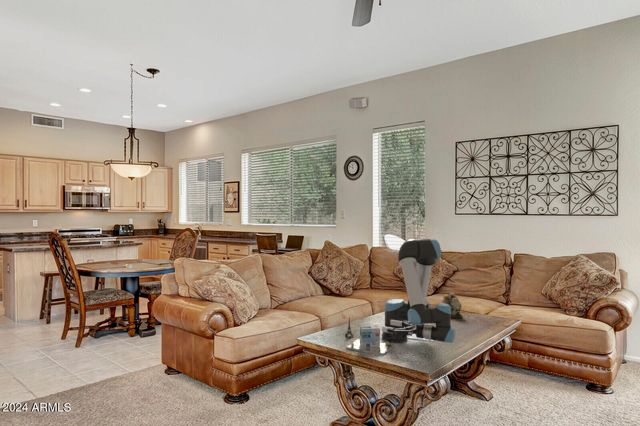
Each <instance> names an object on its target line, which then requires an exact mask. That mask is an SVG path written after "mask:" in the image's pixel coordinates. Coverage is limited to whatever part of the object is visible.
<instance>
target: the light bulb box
mask: <svg viewBox="0 0 640 426" xmlns="http://www.w3.org/2000/svg"><path fill="white" fill-rule="evenodd" d="M359 336H360V337H359V339H360V345H361V347H362V348H371V347H380V343H381V328H380V326H379V325H378V324H376V325H372V324H371V325H370V324H369V325H360V326H359Z"/></svg>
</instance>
